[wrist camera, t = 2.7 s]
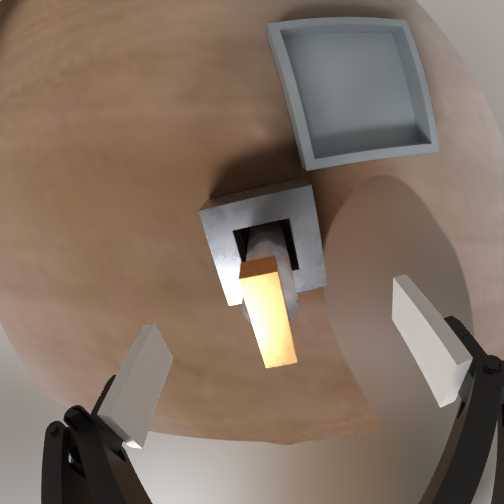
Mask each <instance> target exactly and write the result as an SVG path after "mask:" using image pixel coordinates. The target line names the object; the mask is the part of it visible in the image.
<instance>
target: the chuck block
mask: <svg viewBox="0 0 504 504" xmlns="http://www.w3.org/2000/svg"><path fill="white" fill-rule="evenodd" d="M198 212H199V215H200V218H201V221H202V225H203V228H204V231H205V234H206V237H207V241H208V244H209V247H210V250H211V253H212V256H213V259H214V262H215V265H216V268H217V271H218V274H219V277H220V280H221V283H222V286H223V289H224V292H225V295H226V298H227V301H228V304H229V305H235V304H241V303H242V296H243V293H242V290H241V286H240V283H239V280H238V279H239V272H240V265H241V262H246V258H247V254H246V250H245V246H244V243H243V239H242V235H241V232H240V229H242V228H246V227H251V226H255V225H260V224H264V223H269V222H273V221H278V220H282V219H287V218H288V222H289V227H290V232H291V237H292V242H293V247H294V251H291V252H288V256H289V260H290V264H291V269H292V273H293V278H294V283H295V287H296V292H301V291H306V290H311V289H315V288H320V287H324V286H327V277H326V270H325V263H324V256H323V249H322V242H321V236H320V230H319V224H318V218H317V212H316V206H315V201H314V196H313V190H312V185H311V184H310V183H309V182H308V181H306V180H305V179H304V178H300V179H295V180H291V181H286V182H281V183H276V184H272V185H267V186H263V187H259V188H254V189H250V190H246V191H241V192H237V193H233V194H229V195H225V196H221V197H217V198H213V199H209V200H207V201H206V202H205V204H204V205H203V206H202V207H201V209H200V210H199V211H198Z"/></svg>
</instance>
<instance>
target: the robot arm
mask: <svg viewBox="0 0 504 504" xmlns="http://www.w3.org/2000/svg"><path fill="white" fill-rule="evenodd" d="M392 320H393V322H394V323H395V325H396V327H397V328H398V330H399V332H400V333H401V335H402V337H403V338H404V340H405V342H406V344H407V345H408V347H409V349H410V351H411V353H412V354H413V356H414V358H415V360H416V362H417V363H418V365H419V367H420V369H421V371H422V373H423V374H424V377H425V378H426V380H427V382H428V384H429V386H430V388H431V390H432V392H433V394H434V396H435V398H436V400H437V402H438V404H439V406H440V407H442V406H445V405H447V404H449V403H451V402H454V401H455V399H456V397H457V395H458V393H459V395H460V397H461V399H462V400H461V402H460V404H459V406H458V407H457V409H456V411H455V412H456V413H457V415H456V418H455V421H454V424H453V427H452V430H451V433H450V436H449V439H448V441H447V444H446V447H445V449H444V451H443V454H442V456H441V459H440V461H439V463H438V466H437V468H436V470H435V472H434V475H433V477H432V479H431V481H430V483H429V485H428V487H427V489H426V491H425V493H424V495H423V496H422V499H421V500H420V502H419V504H471V502H472V500H473V497H474V495H475V492H476V489H477V487H478V485H479V482H480V479H481V477H482V474H483V471H484V468H485V464H486V461H487V458H488V455H489V451H490V448H491V443H492V440H493V436H494V432H495V427H496V423H497V419H498V444H497V446H498V447H497V463H496V464H497V465H496V474H495V483H494V489H493V496H492V501H491V504H504V361H501V359H499V358H498V357H496V356H493V355H487V354H486V353H485V352H484V350H483V349H482V348H481V346H480V345H479V344H478V342H477V341H476V340H475V339H474V337H473V336H472V335H470V332H469V331H468V330H467V329H466V327H465V326H464V325H463V324H462V323H461V322H460V320H458V319H456V318H454V317H453V316H449V317H447V318H444V319H443V318H442V316H441V315H440V314H439V313H438V311H437V310H436V309H435V308H434V307H433V305H432V304H431V303H430V302H429V301H428V299H427V298H426V297H425V296H424V295H423V293H422V292H421V291H420V290H419V289H418V288H417V287H416V285H415V284H414V283H413V282H412V281H411V280H410V279H409V277H408V276H407V275H406V274H405V275H401V276H397V277H394V278H393V307H392ZM172 361H173V356H172V354H171V353H170V351H169V349H168V347H167V345H166V343H165V342H164V340H163V338H162V336H161V334H160V332H159V330H158V328H157V326H156V324H155V323H154V324H146V325H144V326H143V327H142V329H141V331H140V333H139V335H138V336H137V338H136V340H135V342H134V344H133V345H132V347H131V349H130V351H129V353H128V355H127V356H126V358H125V360H124V362H123V364H122V366H121V368H120V370H119V371H118V373H117V375H113V376H112V377H111V378H110V379H109V380H108V381H107V383H106V385H105V387H104V390H103V391H102V393H101V396H100V397H99V399H98V400H97V402H96V404H95V406H94V408H93V410H92V412H91V414H89V413H88V412H87V411H86V410H85V409H84V408H83V407H82V406H80V405H76V406H73V407H71V408H70V409H68V410H67V412H66V413H65V415H64V422H65V423H66V424H67V425H68V426H69V427H66V426H65V425H64V424H63V423H62V422H60V421H54V422H52V423H51V424H50V425H49V426H48V427H47V429H46V433H45V441H44V450H43V463H42V482H41V483H42V484H41V501H42V502H41V504H152V502H151V501H150V499H149V497H148V495H147V493H146V492H145V490H144V488H143V486H142V484H141V482H140V480H139V478H138V476H137V474H136V473H135V470H134V468H133V466H132V464H131V462H130V460H129V458H128V455H127V453H126V451H125V449H124V448H123V447H122V446H121V445H122V443H123V441H124V442H125V443H126V444H127V445H128V446H130V447H134V448H141V449H143V446H144V443H145V440H146V436H147V433H148V430H149V427H150V424H151V421H152V418H153V415H154V412H155V409H156V406H157V404H158V401H159V398H160V395H161V392H162V389H163V386H164V383H165V381H166V378H167V375H168V372H169V369H170V367H171V364H172ZM69 457H70V458H71V463H70V462H69Z"/></svg>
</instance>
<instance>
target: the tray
mask: <svg viewBox="0 0 504 504" xmlns="http://www.w3.org/2000/svg"><path fill="white" fill-rule="evenodd" d="M267 38H268V41H269V45H270V48H271V51H272V54H273V58H274V61H275V64H276V68H277V71H278V75H279V78H280V82H281V86H282V89H283V93H284V97H285V101H286V104H287V108H288V112H289V116H290V120H291V124H292V128H293V132H294V137H295V141H296V145H297V150H298V154H299V159H300V163H301V167H302V168H303V169H305V170H306V171H310V170H315V169H320V168H326V167H331V166H337V165H343V164H349V163H355V162H361V161H368V160H374V159H381V158H388V157H396V156H404V155H412V154H421V153H431V152H439V146H438V138H437V131H436V125H435V119H434V114H433V108H432V103H431V99H430V94H429V90H428V86H427V82H426V78H425V74H424V70H423V67H422V63H421V60H420V57H419V53H418V50H417V47H416V44H415V41H414V38H413V36H412V33H411V30H410V28H409V25H408V22H407V21H406V20H398V19H387V18H372V17H325V18H310V19H299V20H290V21H282V22H275V23H268V24H267Z"/></svg>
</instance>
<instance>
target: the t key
mask: <svg viewBox="0 0 504 504" xmlns="http://www.w3.org/2000/svg"><path fill="white" fill-rule="evenodd" d="M238 280H239V283H240V286H241V290H242V293H243V296H242V312H243V314H244V316H245V318H246V319H247V320H248V321H249V322H250V323H252V325H253V328H254V331H255V335H256V338H257V341H258V344H259V347H260V350H261V353H262V357H263V360H264V363H265V366H266V368H269V367H275V366H281V365H287V364H292V363H297V357H296V350H295V343H294V338H293V333H292V328H291V324H290V321H291V320H292V319H293V318H294V317H295V315H296V314H297V311H298V308H299V301H298V296H297V292H296V287H295V283H294V278H293V273H292V269H291V264H290V260H289V256H288V251H287V247H286V243H285V238H284V234H283V230H282V227H281V225H280V224H279V223H278V222H277V221H273V222H269V223H264V224H260V225H255V226H251V228H250V231H249V239H248V249H247V258H246V262H241V265H240V272H239V279H238Z"/></svg>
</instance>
